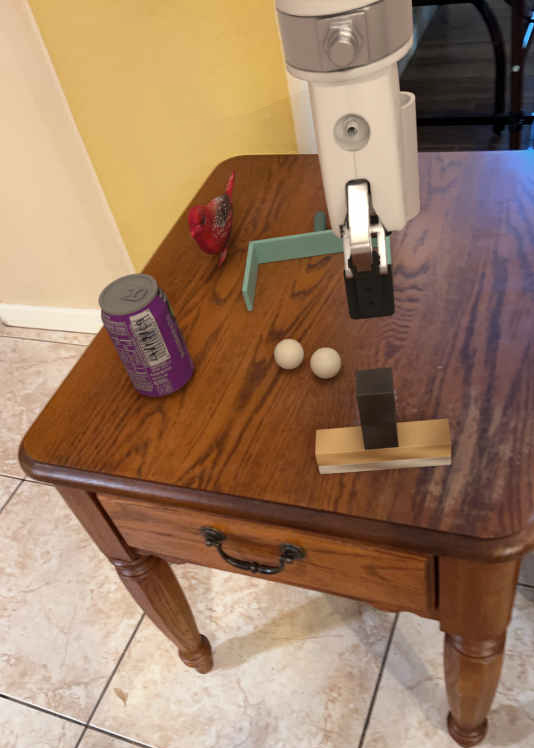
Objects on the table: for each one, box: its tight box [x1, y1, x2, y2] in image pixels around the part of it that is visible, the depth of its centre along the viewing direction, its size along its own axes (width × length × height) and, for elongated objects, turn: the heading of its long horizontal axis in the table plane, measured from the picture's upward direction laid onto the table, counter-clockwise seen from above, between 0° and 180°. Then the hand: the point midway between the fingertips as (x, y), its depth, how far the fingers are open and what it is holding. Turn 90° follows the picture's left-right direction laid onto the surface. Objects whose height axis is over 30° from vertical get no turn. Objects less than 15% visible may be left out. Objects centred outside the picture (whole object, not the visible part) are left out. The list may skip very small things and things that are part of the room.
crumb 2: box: [309, 347, 342, 380], centre depth 73 cm, size 3×3×3 cm
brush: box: [314, 366, 452, 475], centre depth 62 cm, size 12×3×10 cm, turn 86°
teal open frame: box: [241, 210, 394, 312], centre depth 85 cm, size 17×16×3 cm
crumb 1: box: [273, 338, 305, 370], centre depth 75 cm, size 3×3×3 cm
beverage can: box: [97, 273, 195, 398], centre depth 75 cm, size 7×7×12 cm
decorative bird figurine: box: [187, 169, 236, 270], centre depth 89 cm, size 3×18×10 cm, turn 166°
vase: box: [348, 91, 421, 222], centre depth 83 cm, size 11×7×20 cm, turn 115°
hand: (372, 273), depth 53 cm, fingers open, 9 cm apart
